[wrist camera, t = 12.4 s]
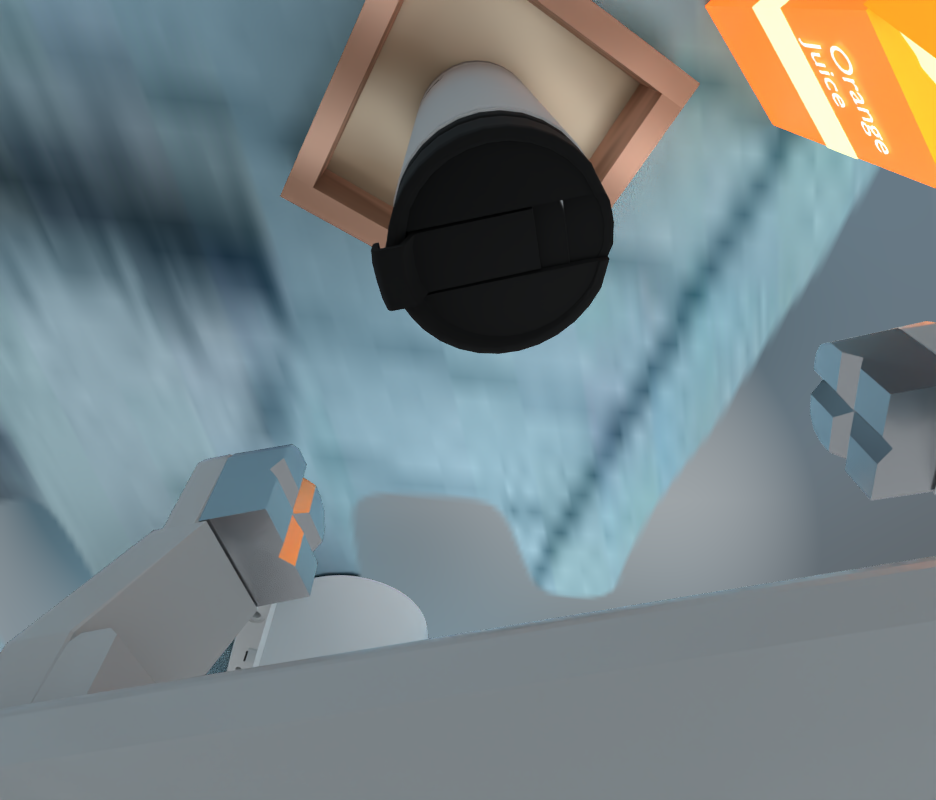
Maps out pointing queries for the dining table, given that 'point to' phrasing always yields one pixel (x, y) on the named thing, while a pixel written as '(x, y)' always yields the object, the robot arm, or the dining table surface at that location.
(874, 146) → the orange juice
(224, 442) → the dining table surface
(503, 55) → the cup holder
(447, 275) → the travel mug
